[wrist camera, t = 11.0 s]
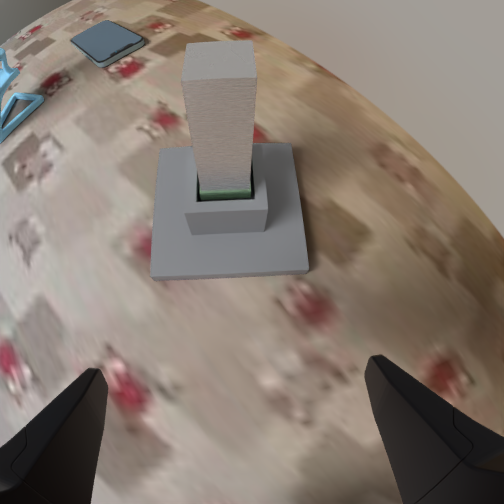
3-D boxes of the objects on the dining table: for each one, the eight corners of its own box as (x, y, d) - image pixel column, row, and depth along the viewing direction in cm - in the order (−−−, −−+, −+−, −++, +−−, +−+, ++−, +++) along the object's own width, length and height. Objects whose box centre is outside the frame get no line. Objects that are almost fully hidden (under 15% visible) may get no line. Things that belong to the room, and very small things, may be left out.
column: (250, 198, 22) (259, 78, 12) (201, 200, 21) (178, 82, 12) (247, 154, 23) (253, 35, 13) (201, 156, 23) (185, 39, 13)
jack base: (306, 273, 25) (324, 248, 19) (154, 280, 24) (131, 256, 19) (289, 150, 29) (298, 108, 23) (162, 156, 28) (149, 115, 23)
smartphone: (107, 18, 38) (146, 37, 34) (109, 25, 39) (148, 46, 35) (68, 39, 36) (98, 63, 32) (71, 46, 37) (101, 72, 33)
